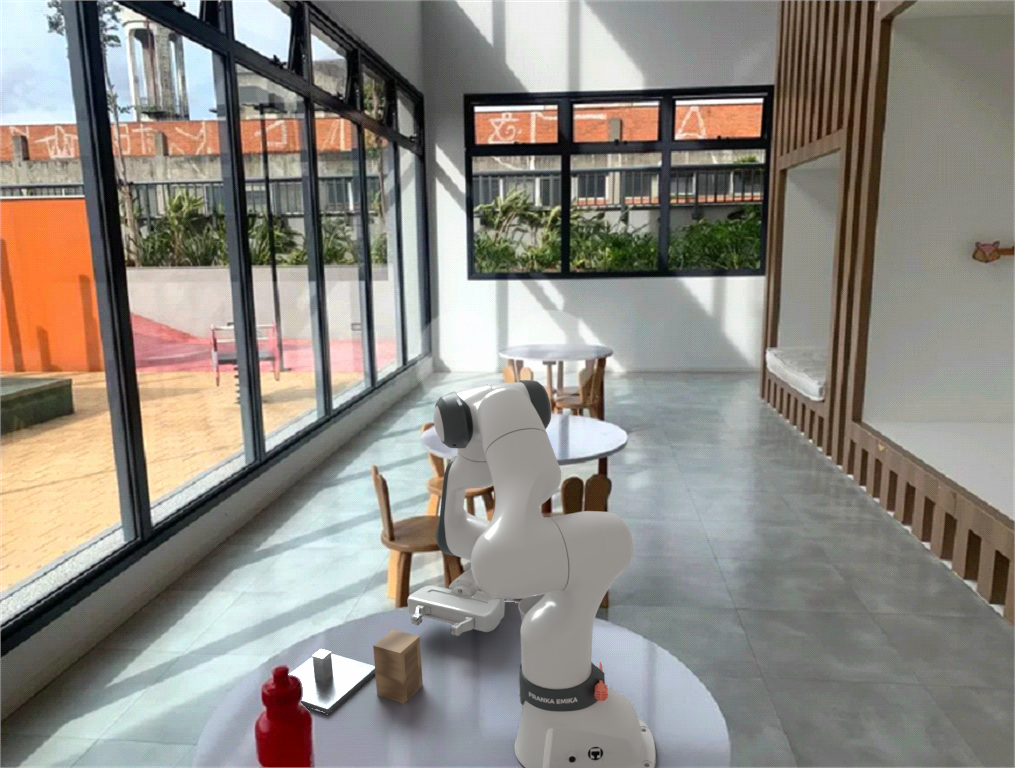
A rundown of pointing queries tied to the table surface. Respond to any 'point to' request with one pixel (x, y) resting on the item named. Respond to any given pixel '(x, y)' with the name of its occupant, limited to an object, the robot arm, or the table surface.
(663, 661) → the table surface
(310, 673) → the metal square peg base
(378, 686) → the brown wooden block
